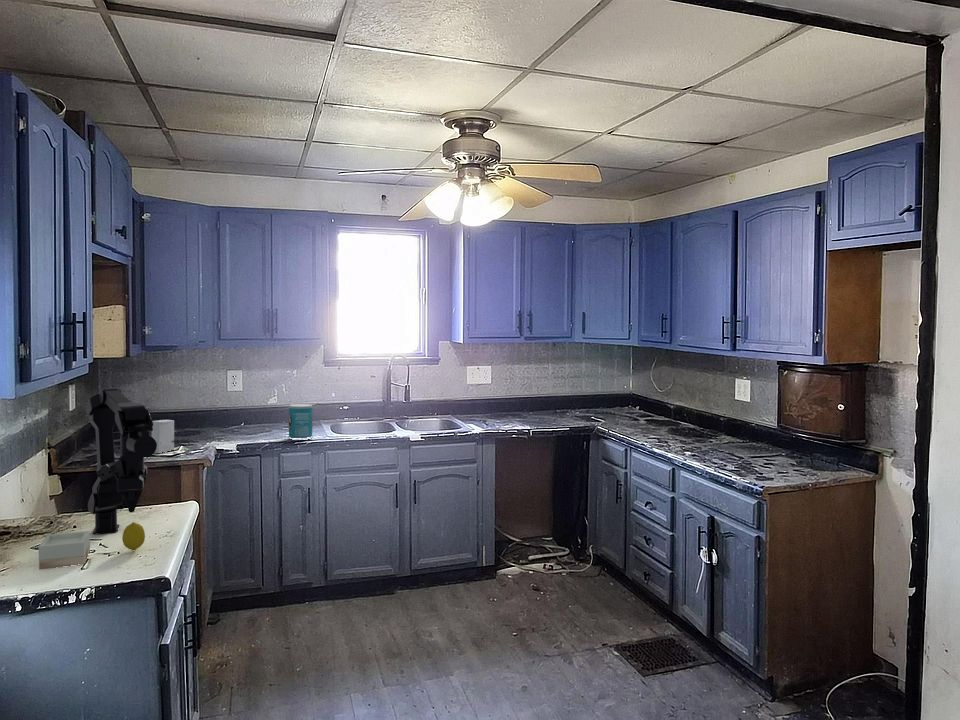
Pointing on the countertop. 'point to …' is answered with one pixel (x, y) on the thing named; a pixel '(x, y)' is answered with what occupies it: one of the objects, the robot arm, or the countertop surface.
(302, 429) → the food can
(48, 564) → the base block
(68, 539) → the dish block
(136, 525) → the lemon
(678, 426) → the countertop surface
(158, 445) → the skincare box
